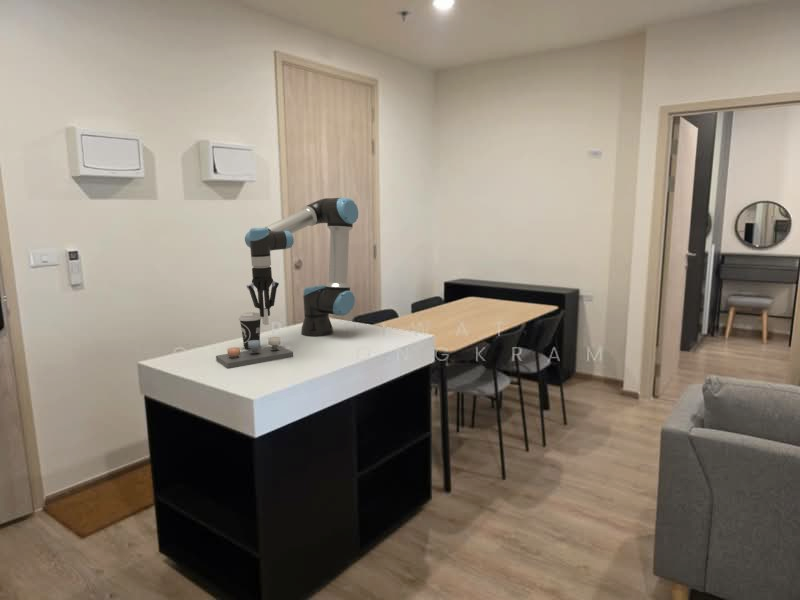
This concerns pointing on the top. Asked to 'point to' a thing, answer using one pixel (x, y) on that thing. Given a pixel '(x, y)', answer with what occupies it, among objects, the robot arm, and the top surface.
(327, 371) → the top surface
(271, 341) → the button cream
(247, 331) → the coffee cup
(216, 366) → the top surface
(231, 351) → the button terracotta
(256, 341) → the button blue
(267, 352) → the panel
